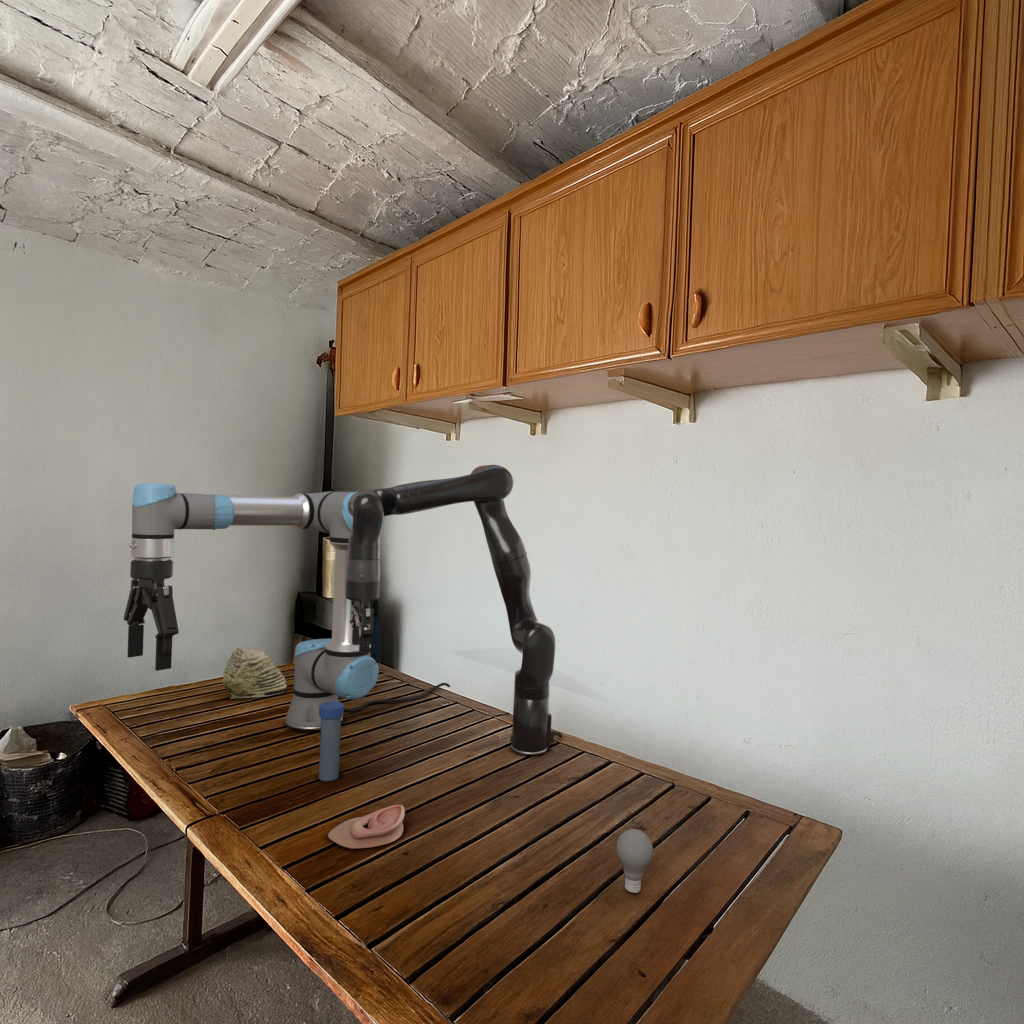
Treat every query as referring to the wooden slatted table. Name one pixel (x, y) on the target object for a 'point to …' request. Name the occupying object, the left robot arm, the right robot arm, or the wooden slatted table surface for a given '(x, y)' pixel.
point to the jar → (329, 749)
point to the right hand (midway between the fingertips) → (360, 648)
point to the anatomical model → (370, 828)
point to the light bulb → (634, 857)
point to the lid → (331, 710)
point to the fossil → (252, 674)
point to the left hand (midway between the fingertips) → (148, 662)
